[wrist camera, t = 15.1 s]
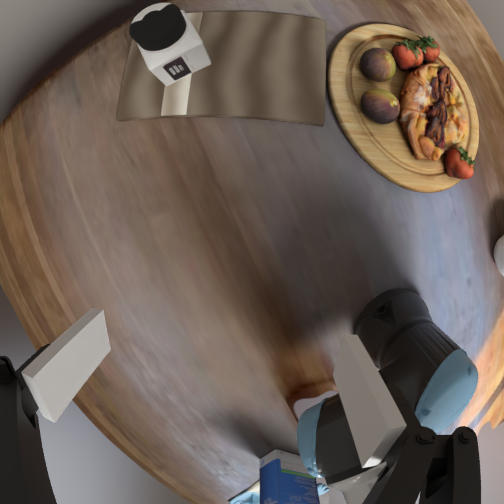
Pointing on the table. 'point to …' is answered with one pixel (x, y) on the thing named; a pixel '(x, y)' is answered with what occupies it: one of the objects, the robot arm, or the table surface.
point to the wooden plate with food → (404, 107)
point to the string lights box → (286, 480)
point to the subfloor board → (238, 72)
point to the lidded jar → (499, 255)
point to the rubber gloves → (247, 500)
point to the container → (168, 42)
